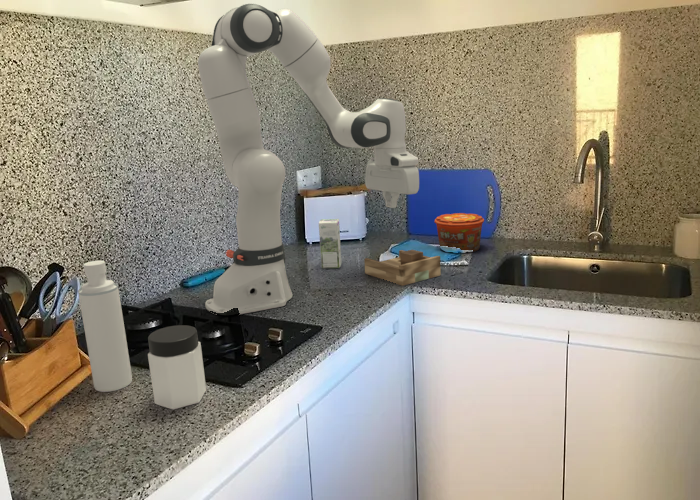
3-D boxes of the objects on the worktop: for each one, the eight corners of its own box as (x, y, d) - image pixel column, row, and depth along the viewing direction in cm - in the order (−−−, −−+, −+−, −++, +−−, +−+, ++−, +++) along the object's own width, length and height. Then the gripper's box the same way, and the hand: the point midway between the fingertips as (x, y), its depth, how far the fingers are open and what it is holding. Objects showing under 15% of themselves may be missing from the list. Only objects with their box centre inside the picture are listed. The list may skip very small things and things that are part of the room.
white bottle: (135, 374, 116) (116, 248, 110) (128, 389, 109) (107, 257, 103) (99, 378, 115) (78, 251, 109) (90, 394, 109) (67, 260, 103)
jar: (200, 382, 111) (192, 321, 108) (212, 399, 104) (204, 334, 101) (150, 395, 107) (141, 331, 104) (159, 414, 100) (150, 347, 97)
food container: (464, 257, 187) (464, 223, 184) (425, 250, 198) (424, 218, 196) (494, 247, 197) (494, 215, 195) (455, 241, 209) (454, 210, 206)
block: (411, 270, 166) (411, 255, 165) (400, 267, 170) (400, 252, 169) (423, 267, 169) (423, 252, 168) (412, 264, 172) (412, 249, 171)
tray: (402, 285, 162) (401, 266, 160) (365, 273, 175) (364, 255, 174) (440, 275, 169) (440, 256, 168) (402, 264, 183) (401, 246, 182)
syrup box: (341, 263, 188) (339, 218, 184) (339, 268, 182) (337, 221, 179) (323, 264, 188) (320, 218, 185) (321, 269, 183) (318, 222, 179)
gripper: (359, 157, 174) (360, 204, 177) (404, 160, 158) (405, 212, 161) (376, 155, 177) (377, 202, 181) (423, 159, 161) (423, 210, 164)
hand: (391, 207), depth 171 cm, fingers closed
